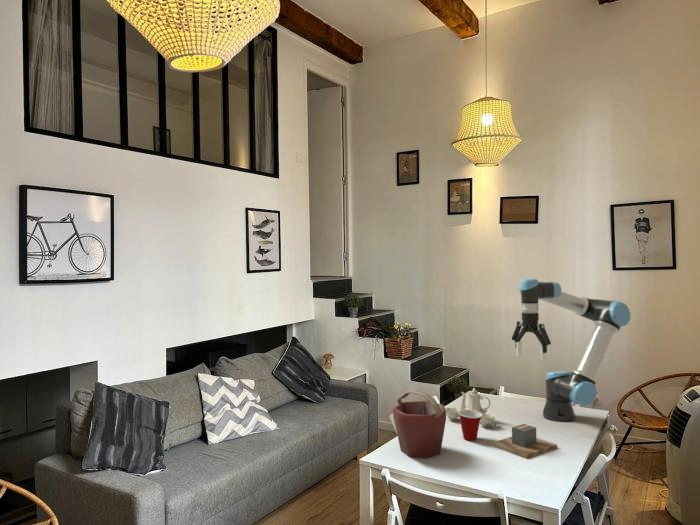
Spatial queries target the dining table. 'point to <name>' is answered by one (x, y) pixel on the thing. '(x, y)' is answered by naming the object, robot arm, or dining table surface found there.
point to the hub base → (527, 451)
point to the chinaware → (472, 408)
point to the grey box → (524, 435)
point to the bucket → (420, 426)
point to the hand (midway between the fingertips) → (531, 357)
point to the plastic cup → (469, 423)
